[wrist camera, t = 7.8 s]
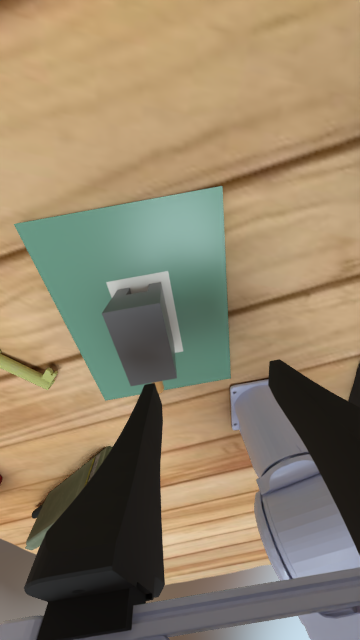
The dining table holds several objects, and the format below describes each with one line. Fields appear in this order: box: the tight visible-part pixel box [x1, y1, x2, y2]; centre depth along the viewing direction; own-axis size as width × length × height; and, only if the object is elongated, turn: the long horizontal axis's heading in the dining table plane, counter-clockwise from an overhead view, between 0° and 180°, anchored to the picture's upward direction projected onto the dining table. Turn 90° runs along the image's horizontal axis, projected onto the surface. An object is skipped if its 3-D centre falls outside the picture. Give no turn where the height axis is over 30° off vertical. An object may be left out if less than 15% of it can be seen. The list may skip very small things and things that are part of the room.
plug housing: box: [102, 282, 177, 394], centre depth 17 cm, size 9×4×5 cm, turn 8°
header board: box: [14, 186, 231, 400], centre depth 18 cm, size 20×16×2 cm
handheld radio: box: [25, 446, 112, 550], centre depth 31 cm, size 7×3×25 cm
